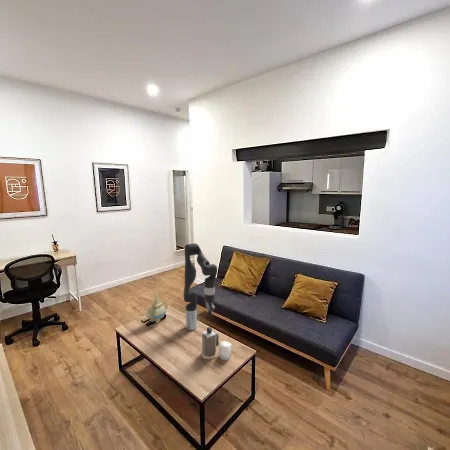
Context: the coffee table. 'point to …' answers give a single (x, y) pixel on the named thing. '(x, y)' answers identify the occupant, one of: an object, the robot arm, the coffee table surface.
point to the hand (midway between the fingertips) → (209, 315)
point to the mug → (225, 350)
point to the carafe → (209, 344)
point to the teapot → (157, 309)
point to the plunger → (209, 330)
